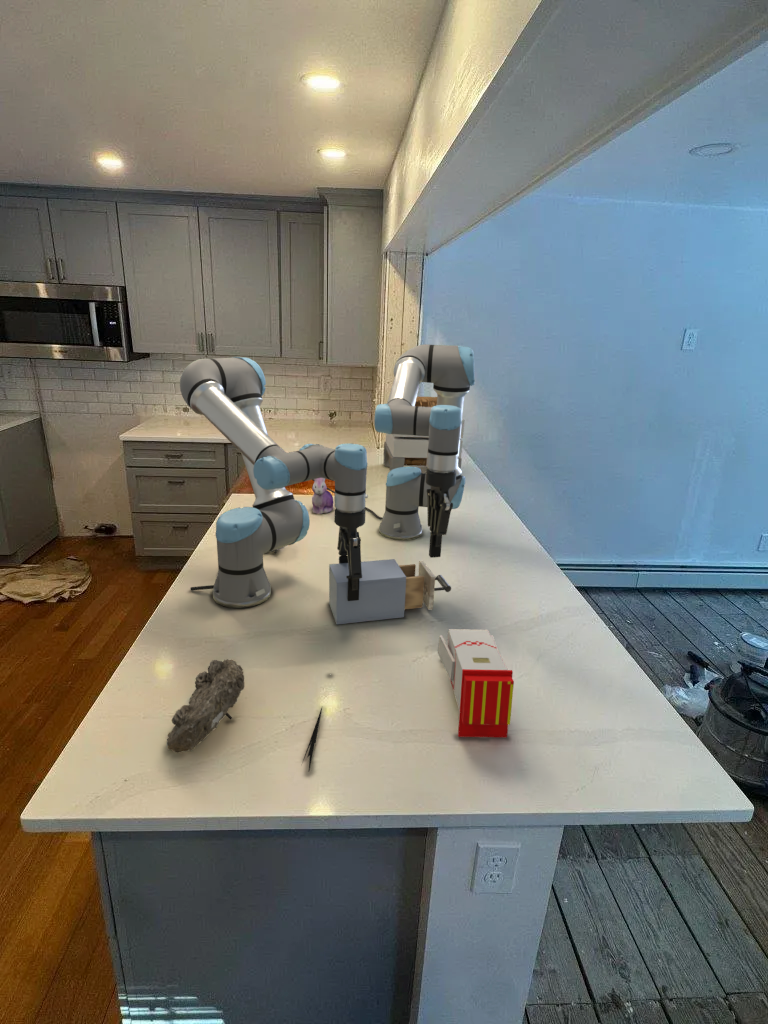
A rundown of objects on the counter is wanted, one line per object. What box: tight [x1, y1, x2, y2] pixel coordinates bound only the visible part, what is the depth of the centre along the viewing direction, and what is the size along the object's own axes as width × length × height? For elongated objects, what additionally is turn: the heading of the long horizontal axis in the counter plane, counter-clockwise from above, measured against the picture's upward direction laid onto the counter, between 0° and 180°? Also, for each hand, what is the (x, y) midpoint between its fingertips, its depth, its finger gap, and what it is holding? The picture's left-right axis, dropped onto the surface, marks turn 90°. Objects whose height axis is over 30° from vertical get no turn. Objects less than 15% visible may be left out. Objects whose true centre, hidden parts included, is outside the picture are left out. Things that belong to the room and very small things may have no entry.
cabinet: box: [328, 558, 406, 625], centre depth 147 cm, size 18×11×12 cm, turn 105°
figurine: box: [311, 478, 334, 515], centre depth 216 cm, size 9×10×15 cm
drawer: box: [398, 560, 452, 611], centre depth 149 cm, size 22×10×10 cm, turn 105°
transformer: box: [383, 395, 465, 472], centre depth 268 cm, size 34×33×41 cm
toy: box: [437, 628, 515, 738], centre depth 117 cm, size 12×13×30 cm
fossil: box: [166, 658, 245, 754], centre depth 106 cm, size 22×10×15 cm
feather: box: [301, 673, 332, 771], centre depth 108 cm, size 2×28×2 cm
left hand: (348, 589), depth 145 cm, fingers closed on cabinet, 11 cm apart
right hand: (434, 556), depth 148 cm, fingers closed
